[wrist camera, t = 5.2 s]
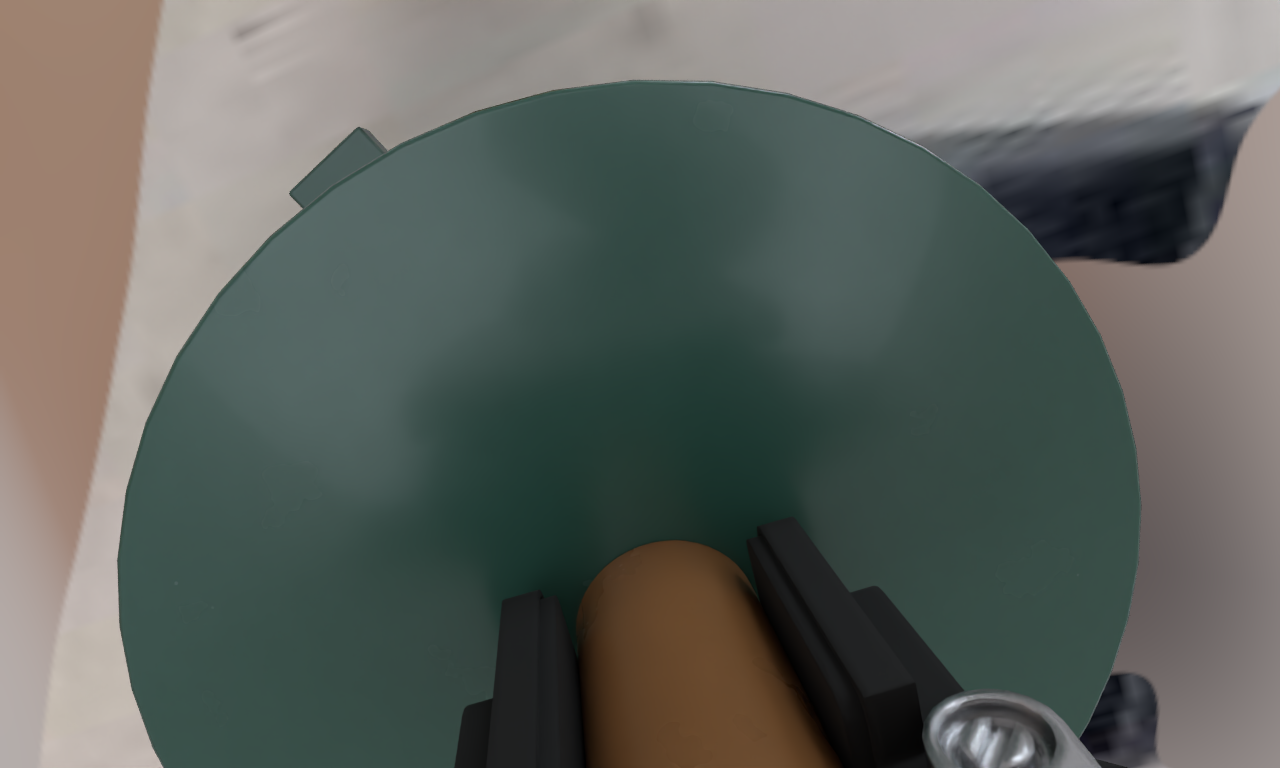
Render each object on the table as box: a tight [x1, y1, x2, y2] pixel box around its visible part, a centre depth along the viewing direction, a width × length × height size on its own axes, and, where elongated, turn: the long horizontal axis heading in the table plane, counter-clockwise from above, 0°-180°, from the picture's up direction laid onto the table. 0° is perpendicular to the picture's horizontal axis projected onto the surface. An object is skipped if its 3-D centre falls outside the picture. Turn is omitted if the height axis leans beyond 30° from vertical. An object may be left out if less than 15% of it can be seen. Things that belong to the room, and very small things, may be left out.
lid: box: [117, 80, 1141, 768], centre depth 10 cm, size 16×16×6 cm
